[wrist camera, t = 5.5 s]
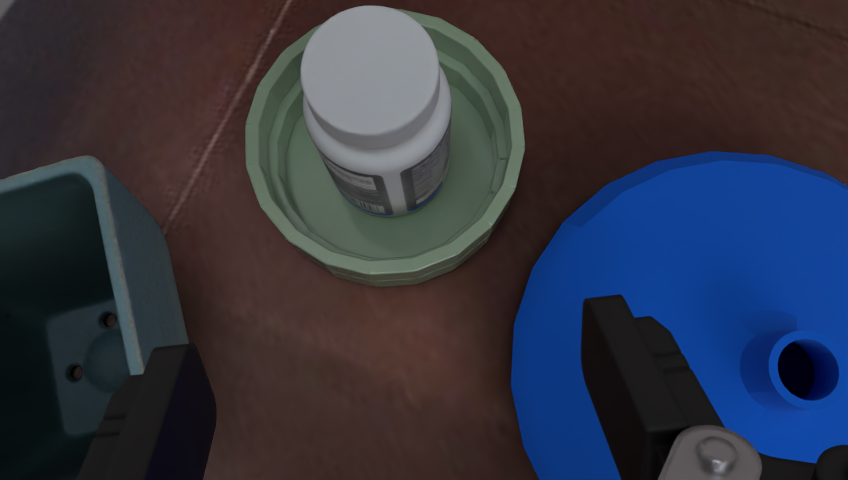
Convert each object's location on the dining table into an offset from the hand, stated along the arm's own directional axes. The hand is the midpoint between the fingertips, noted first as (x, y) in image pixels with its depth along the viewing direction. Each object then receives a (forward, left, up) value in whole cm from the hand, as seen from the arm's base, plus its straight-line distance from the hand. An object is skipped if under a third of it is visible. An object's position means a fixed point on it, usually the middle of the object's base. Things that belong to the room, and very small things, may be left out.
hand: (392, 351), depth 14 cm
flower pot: (-10, +4, -13) cm, 17 cm away
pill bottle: (+2, +8, -12) cm, 15 cm away
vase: (+10, -4, -13) cm, 17 cm away
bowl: (+2, +8, -12) cm, 15 cm away
